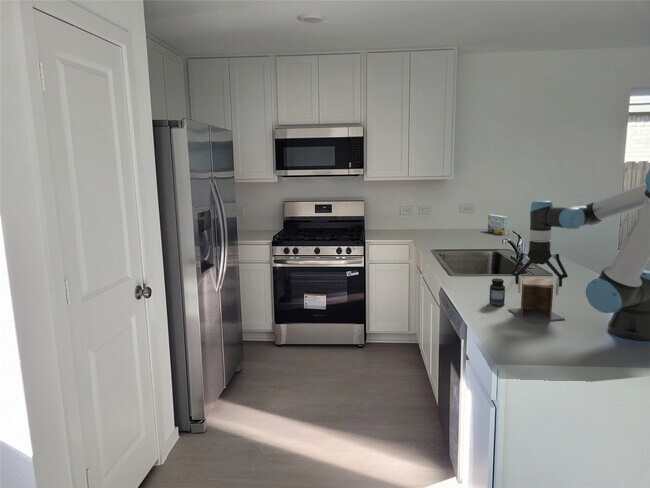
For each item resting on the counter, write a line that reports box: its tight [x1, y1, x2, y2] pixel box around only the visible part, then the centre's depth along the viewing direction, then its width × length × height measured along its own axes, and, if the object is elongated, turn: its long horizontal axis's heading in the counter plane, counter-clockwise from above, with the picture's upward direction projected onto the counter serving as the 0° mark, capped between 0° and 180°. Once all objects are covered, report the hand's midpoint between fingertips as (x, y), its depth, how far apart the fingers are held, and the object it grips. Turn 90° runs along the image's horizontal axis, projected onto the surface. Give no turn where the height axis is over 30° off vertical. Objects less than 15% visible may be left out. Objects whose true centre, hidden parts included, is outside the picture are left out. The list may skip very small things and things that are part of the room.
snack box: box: [487, 213, 510, 236], centre depth 381 cm, size 21×6×15 cm, turn 17°
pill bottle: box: [488, 277, 506, 307], centre depth 196 cm, size 6×6×11 cm
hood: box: [520, 276, 554, 319], centre depth 181 cm, size 11×11×13 cm
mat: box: [507, 307, 566, 324], centre depth 182 cm, size 15×15×1 cm
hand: (537, 293), depth 180 cm, fingers open, 13 cm apart
